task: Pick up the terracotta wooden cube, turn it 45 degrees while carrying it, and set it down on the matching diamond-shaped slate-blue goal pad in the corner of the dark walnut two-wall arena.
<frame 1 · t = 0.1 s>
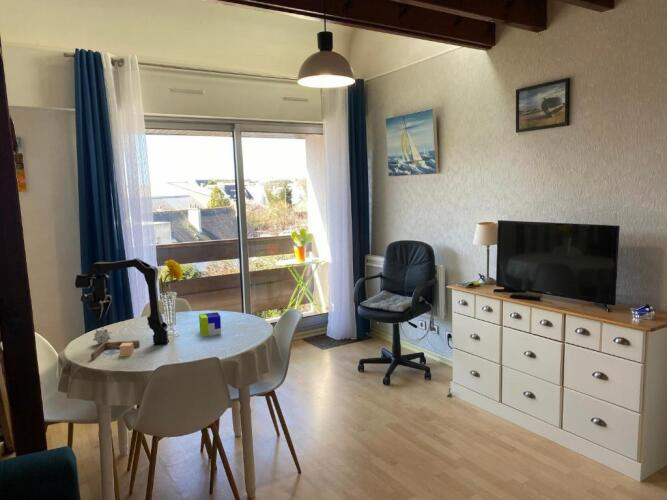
hand: (101, 318, 249), 15 cm above the table, fingers open, 9 cm apart
puzzle toy: (210, 333, 273), on the table
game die: (102, 344, 256), on the table
cube: (127, 354, 239), on the table
arena: (116, 352, 241), on the table
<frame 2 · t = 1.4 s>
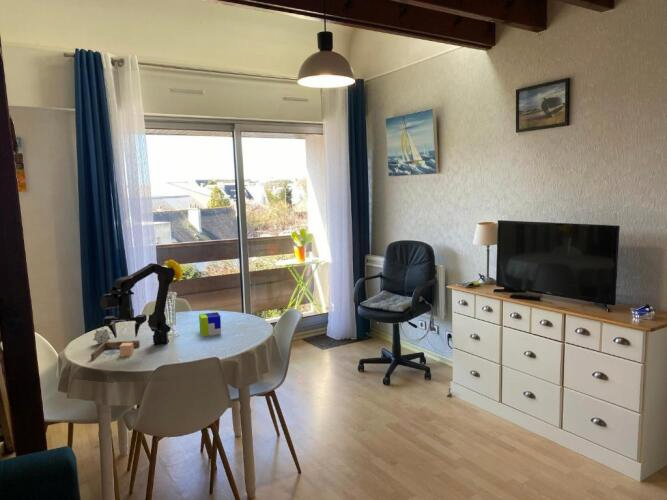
hand: (126, 337, 238), 8 cm above the table, fingers open, 9 cm apart
nothing on the table moved.
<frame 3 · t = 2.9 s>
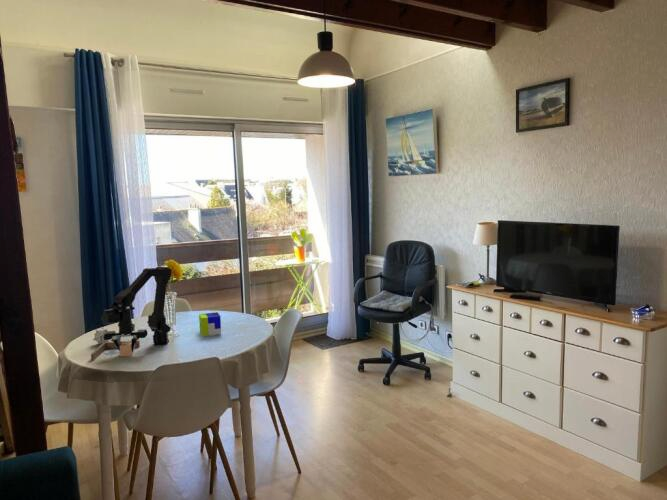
hand: (126, 352, 238), 1 cm above the table, fingers closed on cube, 5 cm apart
cube: (127, 354, 239), on the table, touching gripper
everything else where it was.
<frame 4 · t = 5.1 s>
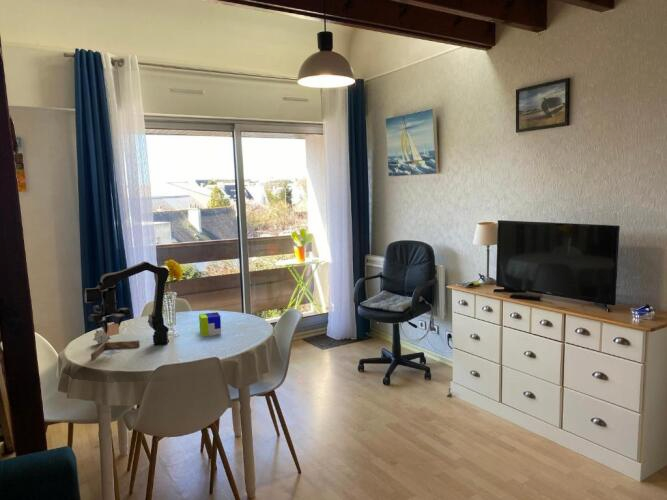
hand: (111, 332, 240), 10 cm above the table, fingers closed on cube, 5 cm apart
cube: (111, 334, 241), point 9 cm above the table, touching gripper
everything else where it was.
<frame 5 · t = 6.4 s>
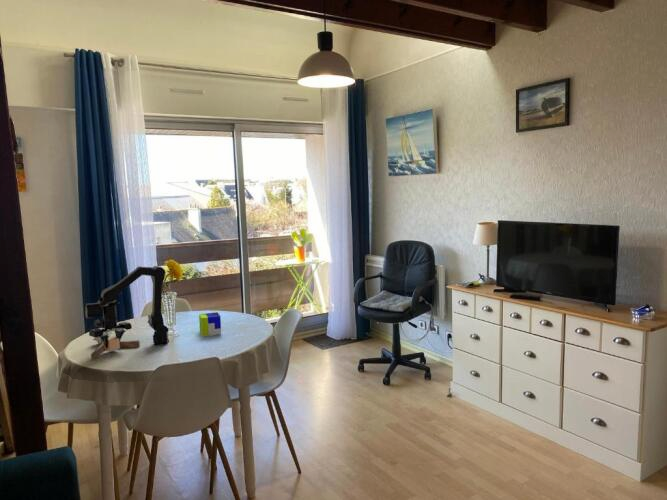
hand: (112, 346, 242), 3 cm above the table, fingers closed on cube, 5 cm apart
cube: (112, 348, 242), point 2 cm above the table, touching gripper
everything else where it was.
when the fingers open (2 cm above the table, at t = 7.3 s): cube drops 1 cm, resting on arena.
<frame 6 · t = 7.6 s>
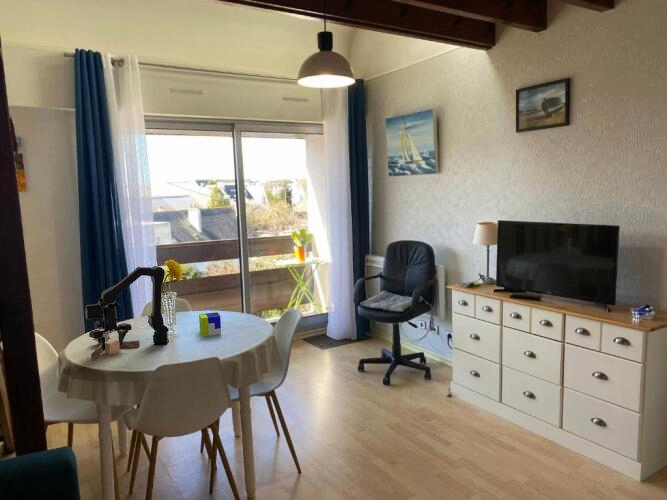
hand: (112, 347, 242), 2 cm above the table, fingers open, 8 cm apart
cube: (112, 351, 242), resting on arena
everything else where it was.
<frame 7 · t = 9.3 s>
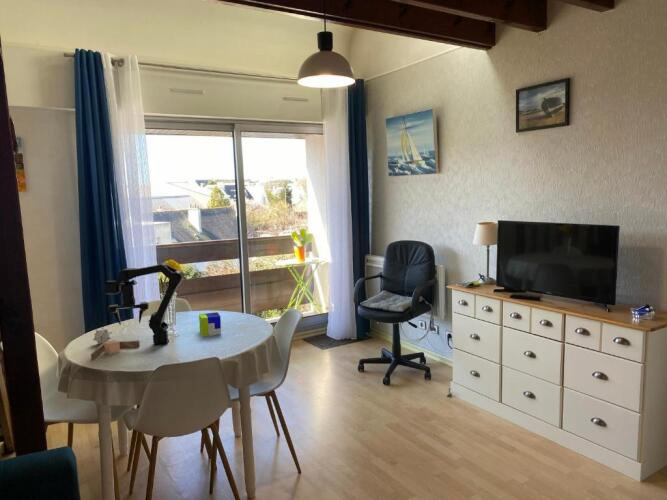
hand: (130, 323, 253), 11 cm above the table, fingers open, 9 cm apart
nothing on the table moved.
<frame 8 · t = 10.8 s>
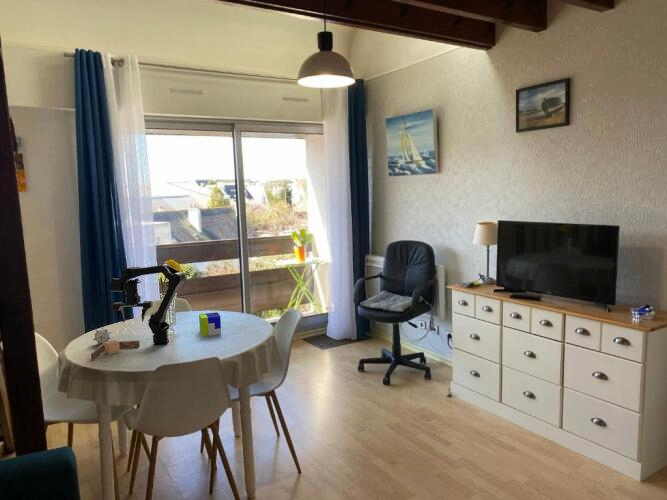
hand: (133, 321, 256), 11 cm above the table, fingers open, 9 cm apart
nothing on the table moved.
at the end: cube 0.1 cm from the target spot, resting on arena; cube tilted 0°; the gripper is holding nothing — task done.
